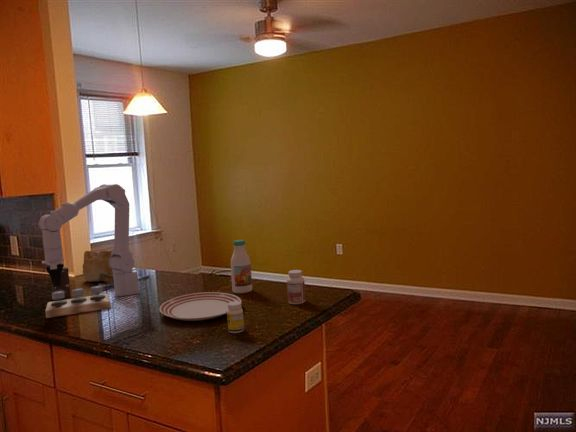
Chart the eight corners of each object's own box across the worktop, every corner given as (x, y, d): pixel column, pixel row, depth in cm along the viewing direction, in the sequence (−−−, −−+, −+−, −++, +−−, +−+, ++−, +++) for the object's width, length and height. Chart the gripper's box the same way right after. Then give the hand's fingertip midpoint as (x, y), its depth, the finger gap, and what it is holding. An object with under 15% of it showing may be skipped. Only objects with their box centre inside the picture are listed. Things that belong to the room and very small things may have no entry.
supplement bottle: (228, 328, 143) (226, 301, 142) (244, 327, 143) (242, 300, 142) (228, 334, 138) (226, 306, 137) (244, 332, 138) (242, 305, 137)
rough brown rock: (141, 281, 213) (140, 248, 212) (106, 287, 200) (105, 251, 199) (113, 277, 227) (112, 246, 227) (79, 282, 214) (78, 249, 214)
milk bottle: (228, 293, 182) (225, 242, 180) (238, 287, 189) (235, 238, 187) (246, 294, 179) (243, 242, 177) (255, 289, 186) (252, 238, 184)
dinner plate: (258, 309, 161) (257, 299, 160) (190, 332, 141) (189, 322, 141) (210, 296, 180) (209, 287, 180) (144, 315, 161) (143, 306, 160)
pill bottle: (296, 298, 170) (295, 268, 169) (309, 301, 166) (307, 270, 164) (284, 302, 166) (282, 271, 165) (296, 306, 161) (295, 274, 160)
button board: (109, 299, 182) (108, 292, 182) (110, 307, 171) (110, 299, 171) (48, 308, 174) (47, 300, 173) (46, 318, 163) (45, 309, 162)
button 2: (102, 290, 178) (102, 285, 178) (103, 292, 174) (102, 287, 174) (91, 292, 176) (90, 286, 176) (91, 294, 173) (90, 289, 172)
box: (54, 300, 185) (51, 270, 183) (53, 298, 188) (50, 268, 187) (71, 297, 188) (68, 268, 187) (69, 295, 192) (66, 266, 190)
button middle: (84, 293, 175) (83, 287, 175) (84, 295, 172) (83, 290, 171) (72, 294, 174) (71, 289, 174) (72, 297, 170) (71, 292, 170)
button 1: (64, 295, 173) (64, 290, 173) (64, 298, 169) (63, 293, 169) (52, 297, 171) (52, 292, 171) (52, 300, 168) (51, 294, 167)
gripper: (42, 246, 173) (46, 282, 175) (38, 252, 160) (43, 291, 162) (63, 244, 176) (67, 279, 178) (61, 250, 163) (65, 288, 164)
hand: (57, 285), depth 170 cm, fingers closed
